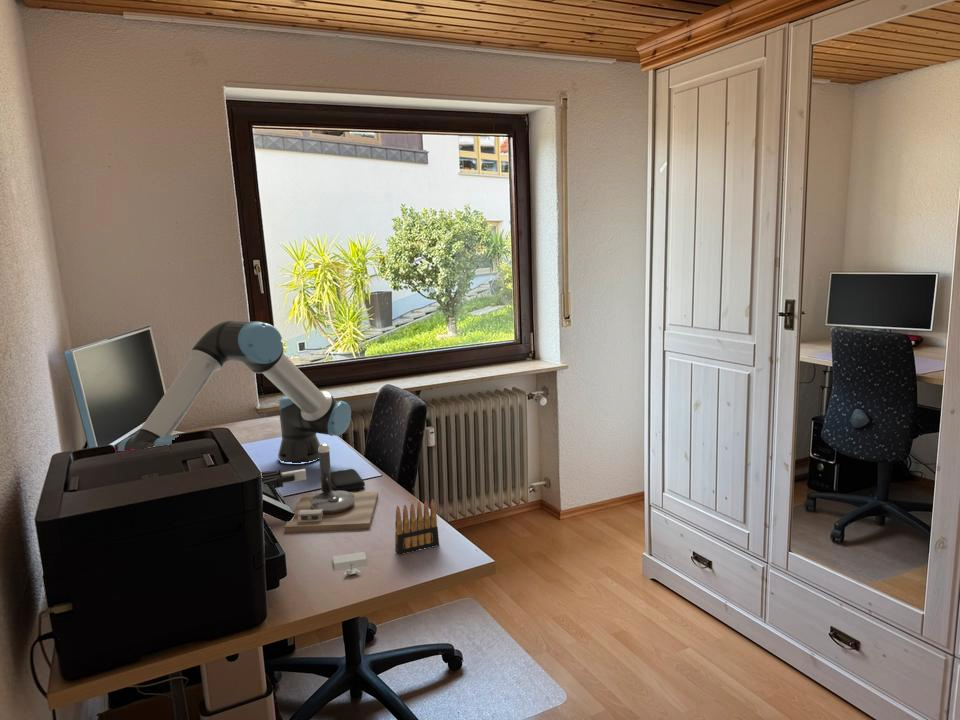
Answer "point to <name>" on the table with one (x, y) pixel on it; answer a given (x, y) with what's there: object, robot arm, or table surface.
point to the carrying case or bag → (346, 480)
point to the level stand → (334, 515)
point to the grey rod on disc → (330, 489)
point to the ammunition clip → (416, 529)
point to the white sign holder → (350, 562)
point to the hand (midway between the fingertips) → (305, 474)
